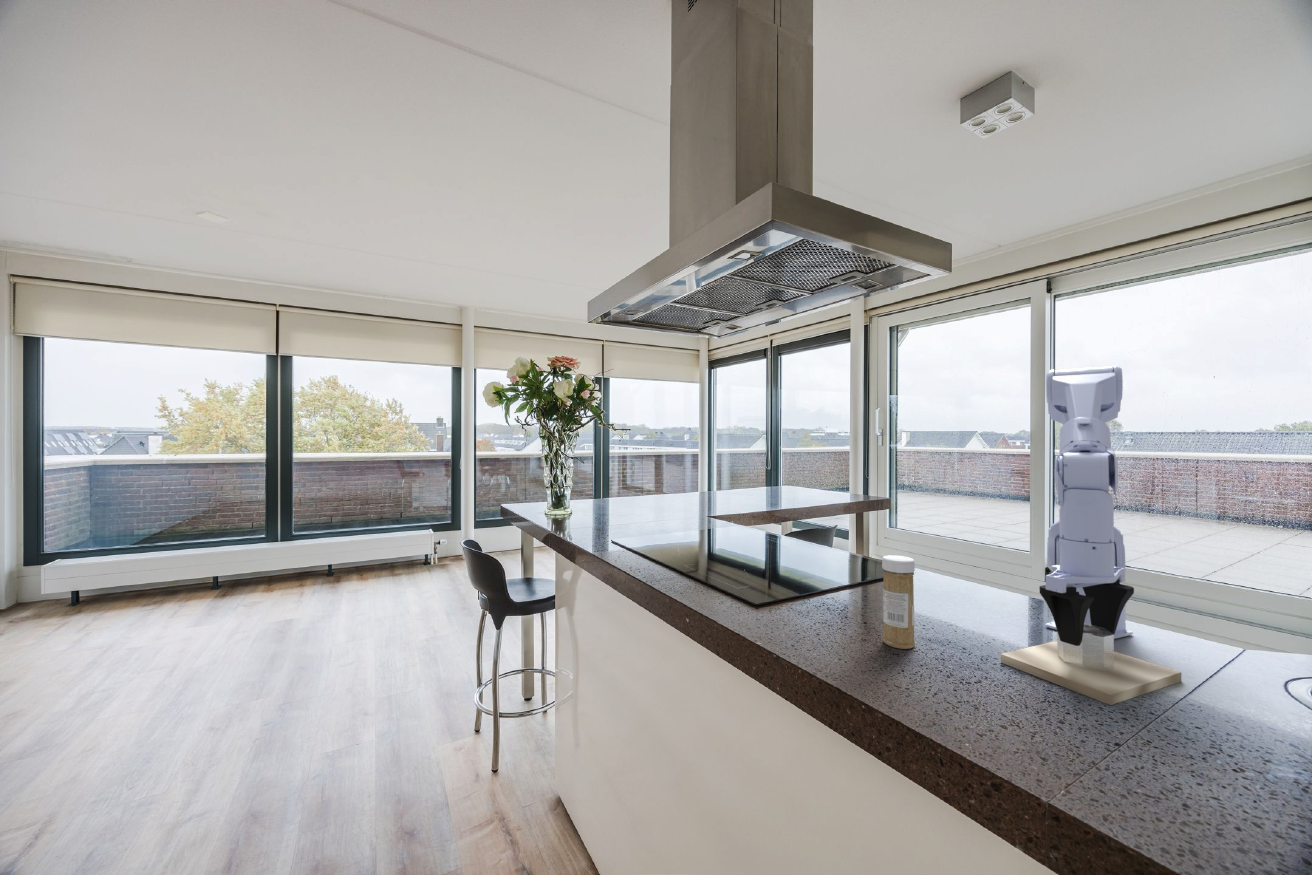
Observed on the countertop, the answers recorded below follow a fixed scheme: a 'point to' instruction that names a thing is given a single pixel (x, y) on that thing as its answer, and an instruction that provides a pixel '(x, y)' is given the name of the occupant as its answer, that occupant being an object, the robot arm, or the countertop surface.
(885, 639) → the sprinkles bottle
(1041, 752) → the countertop surface
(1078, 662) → the steel ring
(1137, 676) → the post board
